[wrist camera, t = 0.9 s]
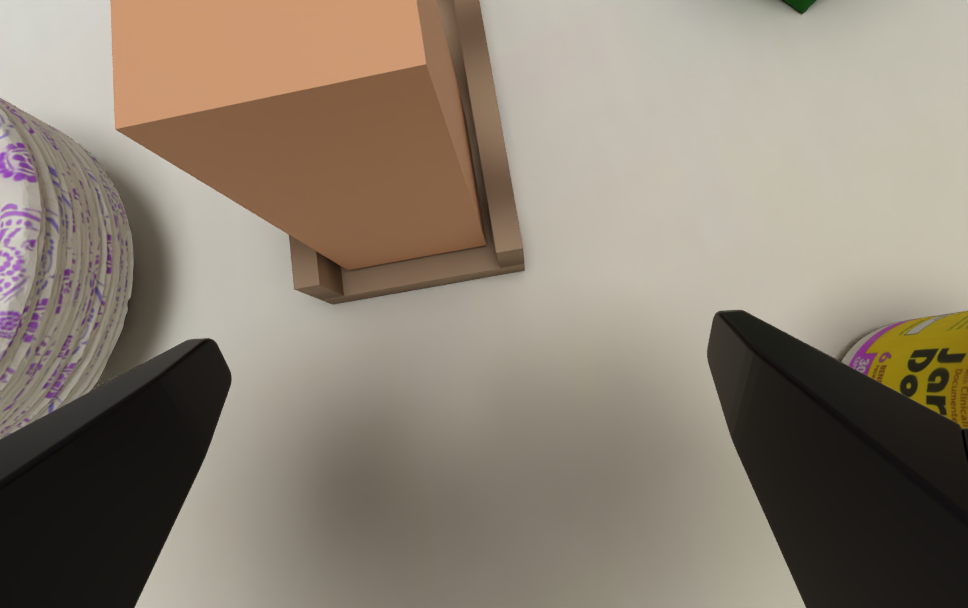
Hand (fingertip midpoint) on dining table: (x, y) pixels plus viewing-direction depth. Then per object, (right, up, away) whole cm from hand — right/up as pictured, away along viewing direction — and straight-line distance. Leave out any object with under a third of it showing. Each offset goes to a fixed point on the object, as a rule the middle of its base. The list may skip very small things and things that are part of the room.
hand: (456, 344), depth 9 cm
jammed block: (-3, +6, +12) cm, 14 cm away
